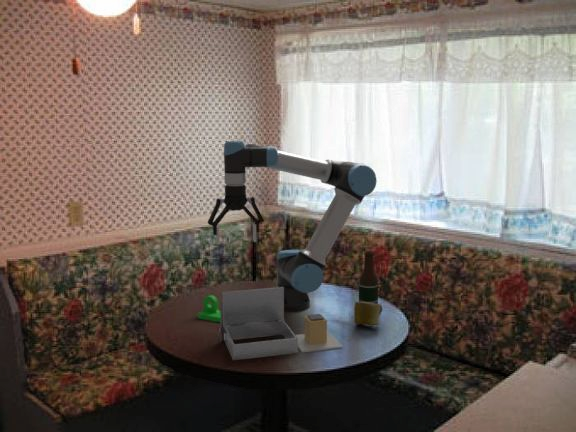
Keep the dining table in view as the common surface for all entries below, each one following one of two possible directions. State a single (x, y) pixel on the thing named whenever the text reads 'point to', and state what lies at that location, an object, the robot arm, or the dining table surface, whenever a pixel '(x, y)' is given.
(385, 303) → the dining table surface
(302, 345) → the pad
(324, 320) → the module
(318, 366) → the dining table surface
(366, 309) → the mug
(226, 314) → the case
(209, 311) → the mechanical part
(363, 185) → the robot arm
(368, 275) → the beer bottle
